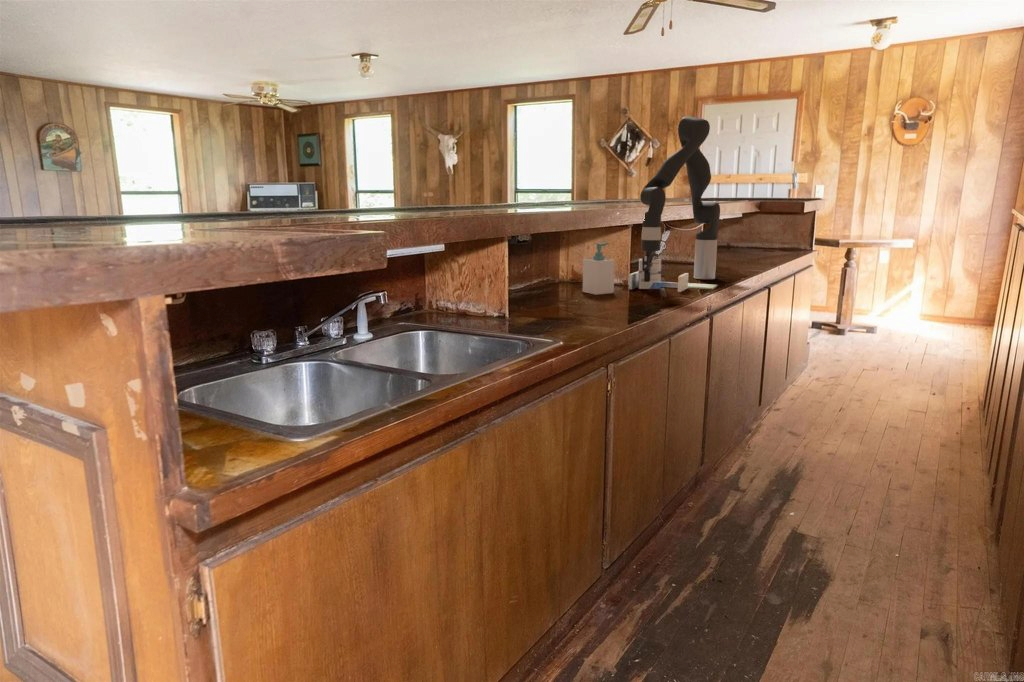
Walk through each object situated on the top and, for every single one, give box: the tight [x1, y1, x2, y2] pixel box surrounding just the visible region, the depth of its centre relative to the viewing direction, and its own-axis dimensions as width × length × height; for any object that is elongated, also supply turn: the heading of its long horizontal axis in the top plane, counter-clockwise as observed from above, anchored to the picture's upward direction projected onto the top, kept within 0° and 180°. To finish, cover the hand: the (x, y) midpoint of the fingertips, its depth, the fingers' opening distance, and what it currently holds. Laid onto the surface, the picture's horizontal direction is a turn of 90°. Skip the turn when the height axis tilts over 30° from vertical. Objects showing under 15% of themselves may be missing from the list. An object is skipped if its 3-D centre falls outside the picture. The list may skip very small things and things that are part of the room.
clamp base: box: [628, 270, 678, 290], centre depth 274 cm, size 14×19×6 cm
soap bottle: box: [582, 242, 615, 296], centre depth 263 cm, size 9×9×19 cm
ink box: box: [637, 258, 662, 290], centre depth 274 cm, size 8×5×12 cm, turn 84°
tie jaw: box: [677, 272, 689, 293], centre depth 268 cm, size 12×1×6 cm, turn 153°
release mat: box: [687, 282, 718, 290], centre depth 279 cm, size 10×12×1 cm
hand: (649, 280), depth 275 cm, fingers closed on ink box, 6 cm apart
